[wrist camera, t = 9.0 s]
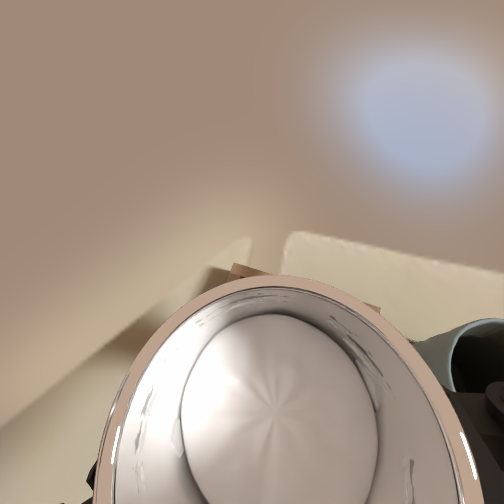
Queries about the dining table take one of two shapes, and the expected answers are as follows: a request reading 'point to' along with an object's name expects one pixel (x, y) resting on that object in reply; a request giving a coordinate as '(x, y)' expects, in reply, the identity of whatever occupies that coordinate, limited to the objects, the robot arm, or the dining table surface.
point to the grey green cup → (467, 355)
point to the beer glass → (282, 407)
